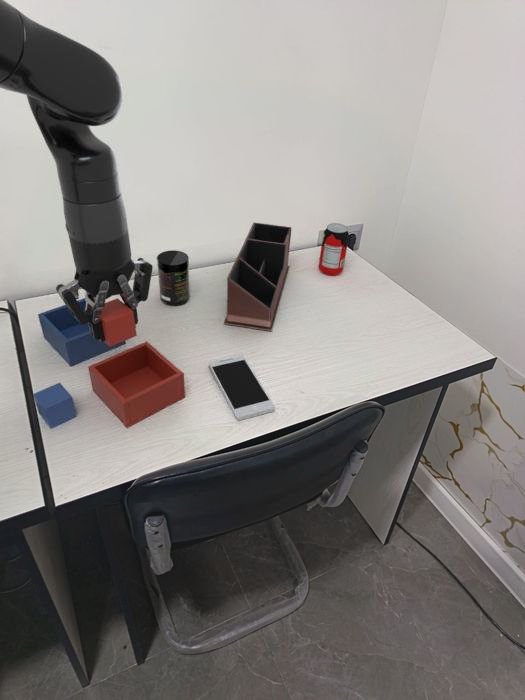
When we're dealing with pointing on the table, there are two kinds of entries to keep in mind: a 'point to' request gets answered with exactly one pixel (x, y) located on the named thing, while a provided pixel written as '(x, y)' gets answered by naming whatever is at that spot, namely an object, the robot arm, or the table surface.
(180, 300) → the supplement container
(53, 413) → the blue block
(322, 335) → the table surface
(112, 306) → the red block
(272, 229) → the desk organizer
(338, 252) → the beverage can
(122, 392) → the red bin
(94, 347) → the blue bin
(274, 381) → the table surface
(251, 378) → the smartphone
